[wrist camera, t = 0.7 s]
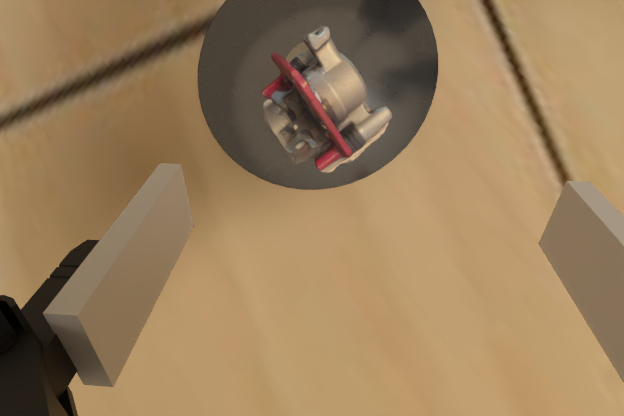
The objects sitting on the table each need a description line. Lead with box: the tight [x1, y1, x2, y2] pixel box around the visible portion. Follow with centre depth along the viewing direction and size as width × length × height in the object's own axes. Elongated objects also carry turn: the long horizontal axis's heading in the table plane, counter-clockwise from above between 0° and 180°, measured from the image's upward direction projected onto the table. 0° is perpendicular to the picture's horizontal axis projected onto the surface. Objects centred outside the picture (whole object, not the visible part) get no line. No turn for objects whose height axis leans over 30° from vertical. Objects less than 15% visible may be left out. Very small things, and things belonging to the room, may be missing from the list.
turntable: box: [198, 0, 438, 190], centre depth 39 cm, size 24×24×1 cm
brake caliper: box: [261, 26, 392, 173], centre depth 35 cm, size 11×11×12 cm
